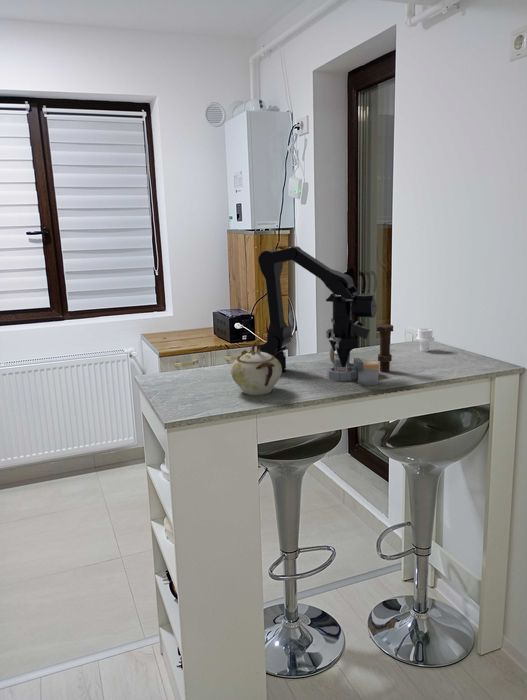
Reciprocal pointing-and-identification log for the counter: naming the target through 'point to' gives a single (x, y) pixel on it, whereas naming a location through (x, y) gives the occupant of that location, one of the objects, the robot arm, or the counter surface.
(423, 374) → the counter surface
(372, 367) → the octagonal ring stamp
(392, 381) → the counter surface
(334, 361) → the vase
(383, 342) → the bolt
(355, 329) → the robot arm
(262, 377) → the sugar bowl
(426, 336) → the pipe fitting
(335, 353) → the pill bottle
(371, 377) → the grey rounded lump
